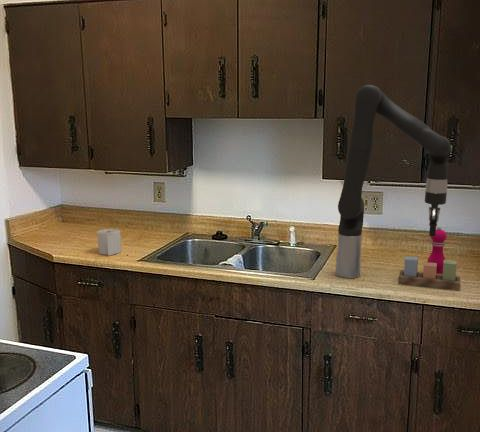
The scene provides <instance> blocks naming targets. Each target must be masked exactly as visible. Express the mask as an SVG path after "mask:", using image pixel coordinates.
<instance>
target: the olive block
mask: <svg viewBox="0 0 480 432" xmlns="http://www.w3.org/2000/svg"><path fill="white" fill-rule="evenodd" d="M457 263H458V262H457V260H450V259H445V260H444V264H443V277H442V280H448V281H455V279H456V276H457V266H458V265H457Z"/></svg>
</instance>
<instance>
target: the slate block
mask: <svg viewBox="0 0 480 432" xmlns="http://www.w3.org/2000/svg"><path fill="white" fill-rule="evenodd" d="M403 264H404V265H403V267H404V268H403V270H404V276H410V277H417V272H418V268H419V267H418V264H419V257H418V256H405V258H404V263H403Z"/></svg>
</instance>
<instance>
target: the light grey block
mask: <svg viewBox="0 0 480 432" xmlns="http://www.w3.org/2000/svg"><path fill="white" fill-rule="evenodd" d="M96 233H97V234H96V235H97V246H98V247H97V249H98V251H97V252H98V254H100V255H104V256H109V257H110V256H112V255H116V254H119V253H122V235H121V230H120V229H118V228H104V229H100V230H97V232H96Z"/></svg>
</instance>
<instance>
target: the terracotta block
mask: <svg viewBox="0 0 480 432" xmlns="http://www.w3.org/2000/svg"><path fill="white" fill-rule="evenodd" d="M436 269H437V263H429V262H427V261H424V262H423V269H422V270H423V271H422V272H423V278H429V279H436Z"/></svg>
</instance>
